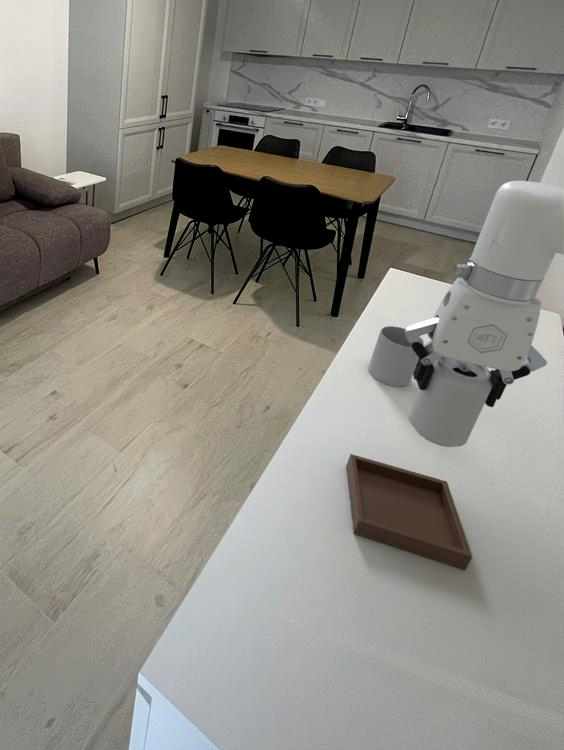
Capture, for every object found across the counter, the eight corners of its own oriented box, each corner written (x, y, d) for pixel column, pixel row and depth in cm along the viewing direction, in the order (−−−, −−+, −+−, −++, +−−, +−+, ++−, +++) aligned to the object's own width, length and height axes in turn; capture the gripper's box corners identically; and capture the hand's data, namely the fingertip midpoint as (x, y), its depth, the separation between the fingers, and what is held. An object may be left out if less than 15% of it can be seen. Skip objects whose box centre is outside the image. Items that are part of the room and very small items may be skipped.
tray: (441, 493, 81) (447, 481, 80) (465, 570, 69) (472, 557, 68) (346, 465, 85) (350, 453, 84) (353, 533, 73) (358, 520, 72)
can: (413, 442, 70) (441, 373, 65) (401, 408, 76) (426, 343, 72) (473, 457, 68) (506, 387, 63) (456, 421, 75) (485, 355, 70)
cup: (378, 358, 116) (390, 322, 112) (415, 377, 110) (430, 339, 106) (361, 371, 111) (374, 334, 107) (400, 392, 105) (414, 352, 101)
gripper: (429, 277, 61) (388, 391, 68) (600, 310, 57) (536, 428, 64) (417, 255, 68) (380, 361, 75) (569, 282, 63) (514, 393, 70)
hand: (452, 391), depth 69 cm, fingers closed on can, 7 cm apart
